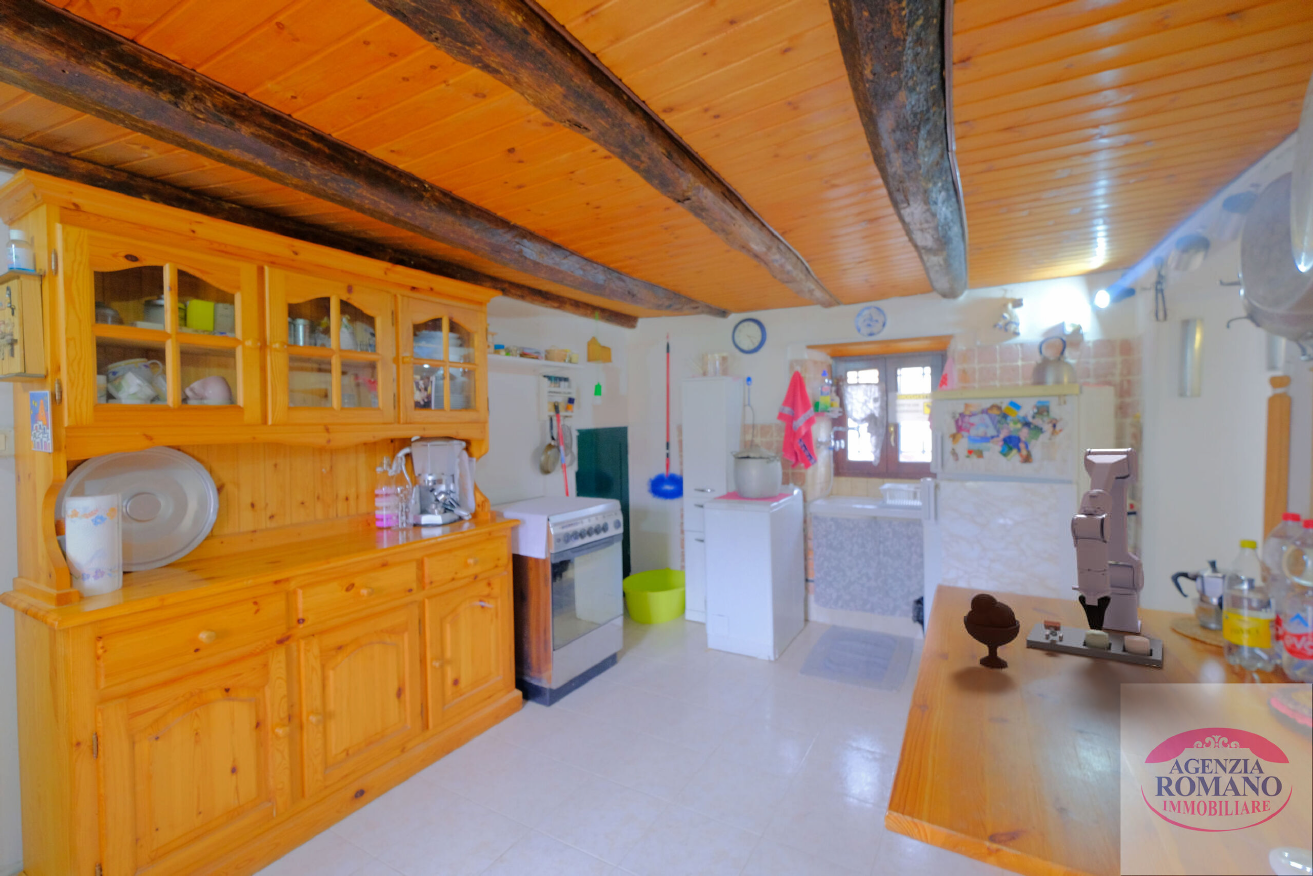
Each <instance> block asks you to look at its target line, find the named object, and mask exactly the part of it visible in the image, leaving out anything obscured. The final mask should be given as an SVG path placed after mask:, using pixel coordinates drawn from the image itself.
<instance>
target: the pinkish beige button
mask: <svg viewBox="0 0 1313 876" xmlns="http://www.w3.org/2000/svg"><path fill="white" fill-rule="evenodd" d="M1144 637H1145V636H1140V635H1131V636H1125V637H1124V639H1125V651H1126V653H1133V654H1139V655H1146V656H1151V655H1150V642H1149V639H1147V638H1148V637H1145V638H1144Z"/></svg>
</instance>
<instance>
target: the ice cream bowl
mask: <svg viewBox="0 0 1313 876" xmlns="http://www.w3.org/2000/svg"><path fill="white" fill-rule="evenodd" d="M970 609H971V610H969V611H968V612H967V614H966V615H964V616H963V623H964V628H965V630H966V631H967V634H969V635H970V636H971V638H973V639H975V641H977V642H979V643H980V644H983V645H985V646H986V647H987V649H988V650H987V651H988V655H986V656H984V657H981V658H980V659H979V665H981V664H982V665H981V666H983V665H984V666H983V667H985V666H986V667H985V668H988V667H990V668H989V669H993V668H998V669H997V670H1000V669H999V668H1001V670H1003V669H1002V668H1004V669H1005V668H1009V666H1008V663H1007V660H1005V659H1003V658H1001V657H1000V656H999V655H998V648H999V647H1002V646H1005V645H1008V644H1010V643H1011V642H1012V641H1014V640H1015V639H1016V638H1017V637H1018V636H1019V633H1020V627H1021V625H1020V621H1019V620H1018V619H1016V616H1015V612H1014V611H1013V609H1012V608H1011V607H1010V606H1009V605H1008V604H1006V603H1003V602H1001V601H998V600H997V598H996V597H994V596H993V595H991V594H990V593H989V594H988V593H983V592H982V593H979V594H978V593H977V594H976V595H975V596H974V597H972V599H971V602H970Z"/></svg>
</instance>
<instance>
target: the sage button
mask: <svg viewBox="0 0 1313 876" xmlns="http://www.w3.org/2000/svg"><path fill="white" fill-rule="evenodd" d="M1105 632H1106V631H1100V630H1093V629H1087V631H1085V641H1086V646H1087V647H1093V648H1100V649H1106V650H1109V649H1108V648H1109V638H1108V634H1107V633H1105Z"/></svg>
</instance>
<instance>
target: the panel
mask: <svg viewBox="0 0 1313 876" xmlns="http://www.w3.org/2000/svg"><path fill="white" fill-rule="evenodd" d="M1087 630H1088V629H1086V628H1078V627H1072V626H1065V625H1061V630H1060V631H1057V634H1058V635H1057V636H1055V637H1054V636H1051V634H1050V630H1048V629H1045V627H1044V623H1042V622H1035V624H1034V626H1033V627H1032V629H1031V631H1030V632H1029V634H1028V636H1027V638H1026V639H1025V640H1026V647H1031V646H1032V647H1031V648H1038V649H1045V650H1051V651H1055V652H1063V653H1068V654H1075V655H1081V656H1089V657H1095V658H1100V659H1107V660H1114V661H1118V662H1125V663H1132V664H1137V665H1143V664H1148V665H1147V666H1150V665H1156V666H1162V667H1163V640H1162V639H1159V638H1152V637H1145V636H1143V637H1144V638H1147V639H1149V642H1150V655H1139V654H1133V653H1128V652H1126V651H1125V639H1124V637H1125V636H1132V635H1128V634H1123V633H1115V632H1108V631H1104V632H1105V633H1107V634H1108V638H1109V648H1108V649H1100V648H1093V647H1088V646H1086V641H1085V631H1087ZM1151 655H1152V656H1151ZM1156 666H1155V667H1156Z"/></svg>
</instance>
